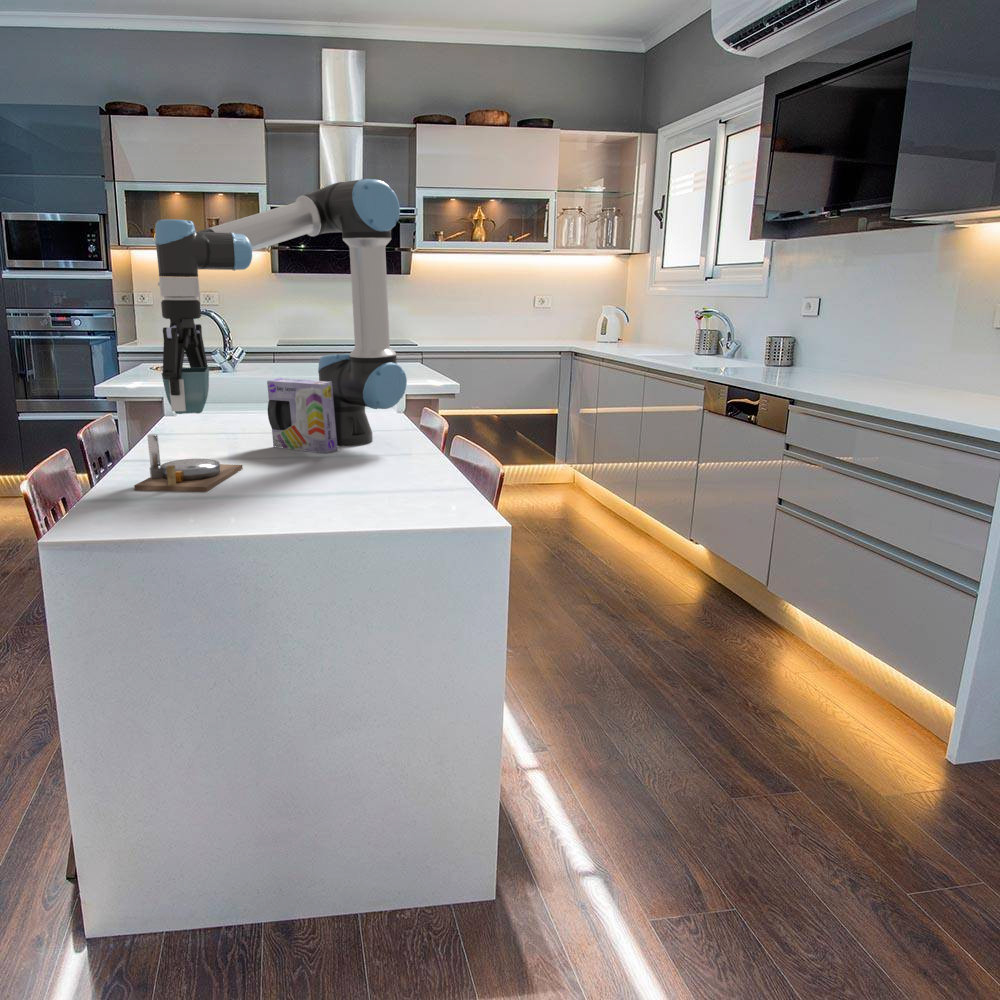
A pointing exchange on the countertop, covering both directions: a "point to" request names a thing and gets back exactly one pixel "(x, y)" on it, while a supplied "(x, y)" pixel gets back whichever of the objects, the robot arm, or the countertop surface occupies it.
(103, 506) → the countertop surface
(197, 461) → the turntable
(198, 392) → the flower pot
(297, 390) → the cake pan box
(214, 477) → the base
